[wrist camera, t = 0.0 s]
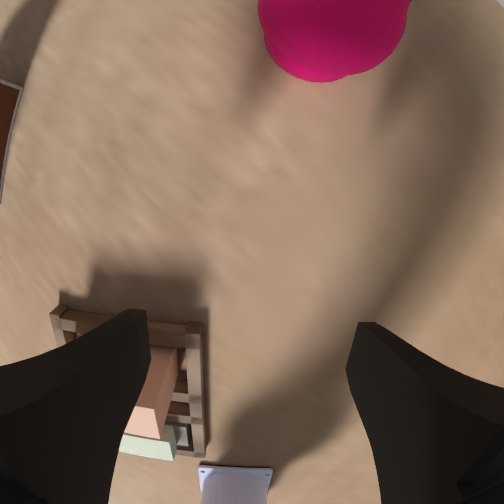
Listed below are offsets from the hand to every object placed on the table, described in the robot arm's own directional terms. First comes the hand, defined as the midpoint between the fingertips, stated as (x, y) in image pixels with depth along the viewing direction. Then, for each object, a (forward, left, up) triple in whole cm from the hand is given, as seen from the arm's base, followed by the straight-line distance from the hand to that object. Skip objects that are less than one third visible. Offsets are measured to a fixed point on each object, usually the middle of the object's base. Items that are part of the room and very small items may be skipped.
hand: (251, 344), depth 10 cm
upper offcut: (-17, +9, -9) cm, 21 cm away
